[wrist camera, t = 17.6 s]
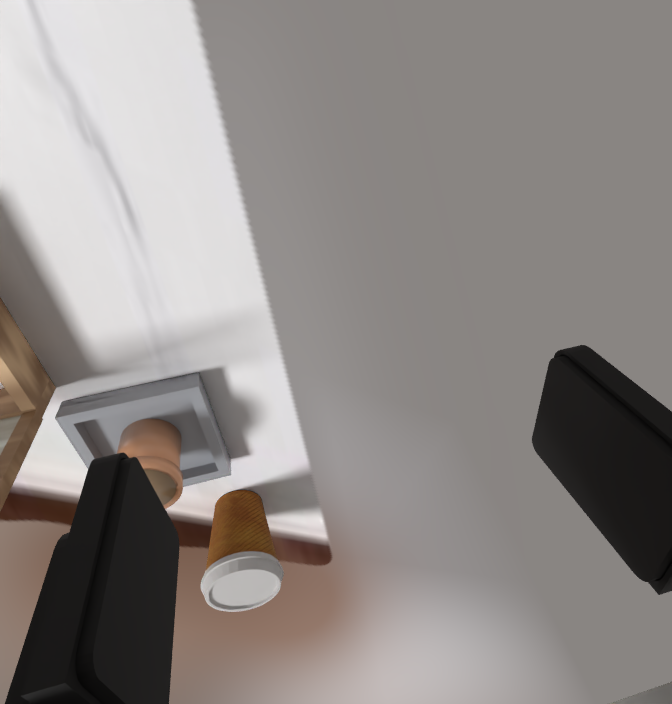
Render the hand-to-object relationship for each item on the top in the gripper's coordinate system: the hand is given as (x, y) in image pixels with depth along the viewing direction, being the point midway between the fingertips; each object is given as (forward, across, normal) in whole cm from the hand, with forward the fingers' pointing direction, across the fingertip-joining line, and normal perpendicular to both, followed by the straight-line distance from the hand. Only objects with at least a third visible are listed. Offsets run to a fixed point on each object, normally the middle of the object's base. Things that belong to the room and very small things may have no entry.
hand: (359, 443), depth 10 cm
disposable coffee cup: (+34, +11, +43) cm, 56 cm away
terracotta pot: (+32, +17, +27) cm, 45 cm away
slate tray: (+33, +17, +27) cm, 46 cm away
